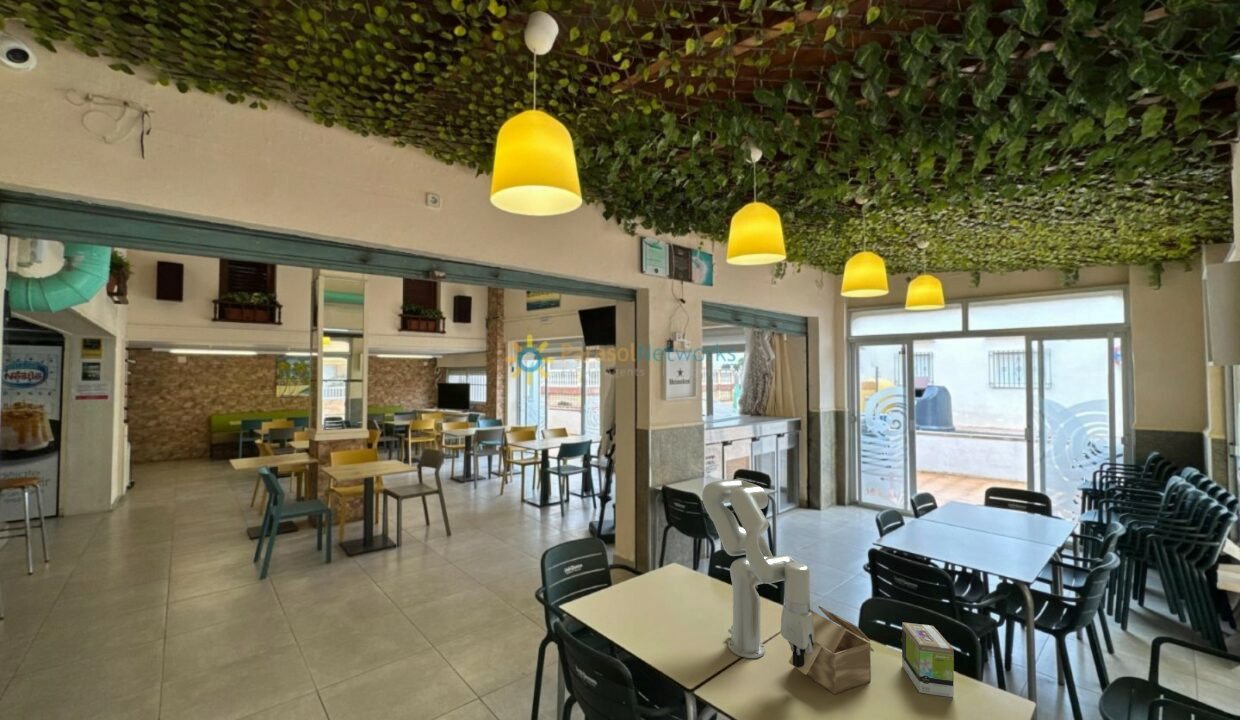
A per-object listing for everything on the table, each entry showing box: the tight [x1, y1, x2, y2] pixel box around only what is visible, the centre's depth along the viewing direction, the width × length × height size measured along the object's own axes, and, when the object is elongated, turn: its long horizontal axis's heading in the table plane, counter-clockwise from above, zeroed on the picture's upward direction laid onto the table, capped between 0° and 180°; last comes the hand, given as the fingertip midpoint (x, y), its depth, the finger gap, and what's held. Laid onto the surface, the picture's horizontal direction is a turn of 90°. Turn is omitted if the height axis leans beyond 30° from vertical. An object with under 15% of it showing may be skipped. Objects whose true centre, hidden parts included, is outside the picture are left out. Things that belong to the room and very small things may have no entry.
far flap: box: [818, 605, 875, 653], centre depth 163 cm, size 15×18×1 cm
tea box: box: [901, 621, 955, 698], centre depth 156 cm, size 15×10×15 cm, turn 168°
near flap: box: [788, 609, 846, 676], centre depth 156 cm, size 15×18×1 cm
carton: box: [806, 620, 872, 695], centre depth 159 cm, size 16×16×12 cm
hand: (798, 665), depth 152 cm, fingers closed
